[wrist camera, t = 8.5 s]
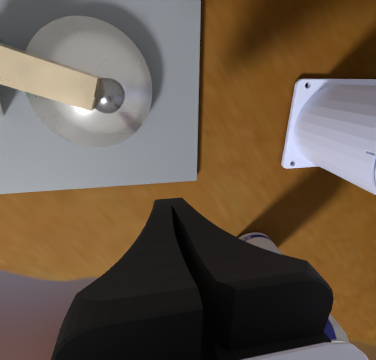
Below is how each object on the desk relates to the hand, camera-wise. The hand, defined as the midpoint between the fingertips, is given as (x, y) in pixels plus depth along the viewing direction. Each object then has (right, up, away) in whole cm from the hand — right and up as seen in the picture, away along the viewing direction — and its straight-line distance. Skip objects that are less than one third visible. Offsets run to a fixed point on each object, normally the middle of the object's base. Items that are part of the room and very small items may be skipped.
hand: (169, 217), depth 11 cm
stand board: (-6, +8, +7) cm, 12 cm away
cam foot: (-7, +9, +5) cm, 12 cm away
